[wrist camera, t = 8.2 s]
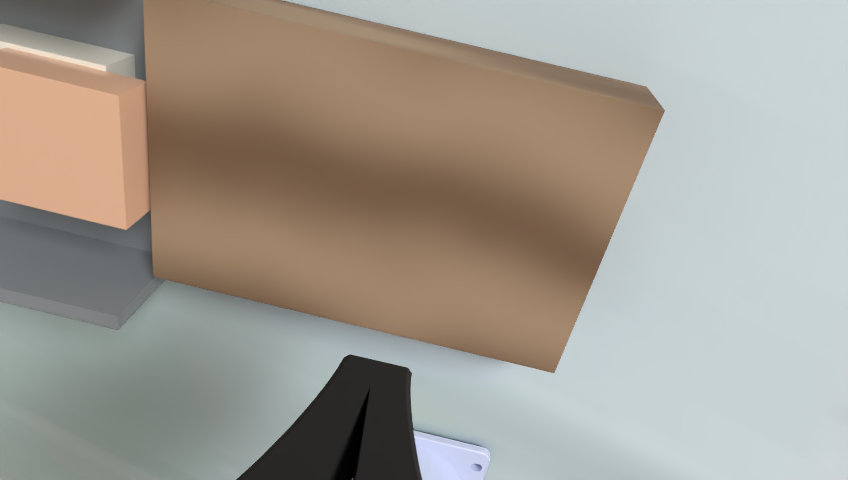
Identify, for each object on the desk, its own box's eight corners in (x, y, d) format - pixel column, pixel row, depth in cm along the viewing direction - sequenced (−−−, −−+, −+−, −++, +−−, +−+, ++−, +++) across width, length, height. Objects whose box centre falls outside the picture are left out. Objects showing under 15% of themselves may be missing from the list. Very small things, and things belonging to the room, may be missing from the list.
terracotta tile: (152, 208, 21) (126, 229, 19) (26, 177, 21) (-9, 197, 19) (148, 81, 18) (118, 95, 17) (7, 47, 18) (-34, 58, 17)
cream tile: (140, 176, 22) (115, 195, 20) (22, 148, 22) (-11, 165, 21) (134, 54, 20) (105, 66, 18) (2, 23, 20) (-36, 32, 18)
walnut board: (549, 330, 24) (554, 373, 22) (185, 242, 24) (153, 276, 22) (646, 86, 19) (664, 110, 17) (184, -23, 19) (142, -14, 17)
